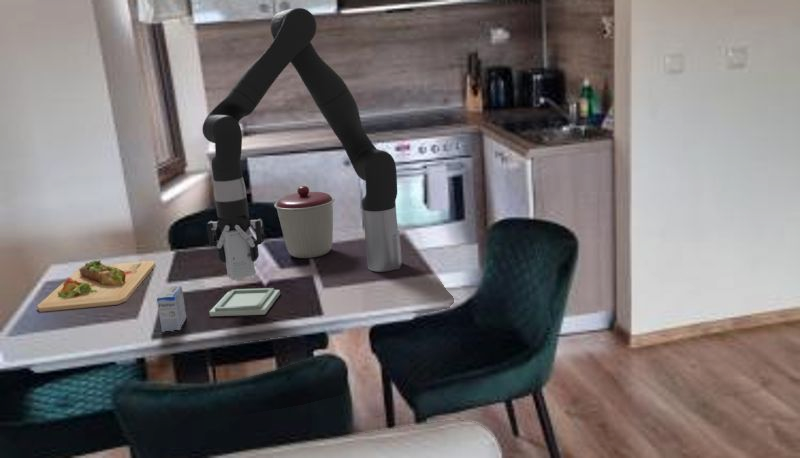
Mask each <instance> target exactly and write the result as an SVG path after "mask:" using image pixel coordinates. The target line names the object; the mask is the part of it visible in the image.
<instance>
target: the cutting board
mask: <svg viewBox="0 0 800 458" xmlns="http://www.w3.org/2000/svg"><path fill="white" fill-rule="evenodd" d="M155 267H156V262H155V261H153V260H147V261H145V260H144V261H134V262H125V263H124V262H123V263H115V264H107V265H106V264H102V262H101V260H100V259H99V260H95V259H94V260H92V261H90V262H89V263H88V262H86V263H84V265H83V266H81V267H80V268H78V269H77V270H76V271H75V272H74V273H72V274H71V275H70V276H68V277H67V278H66V279H65V281H63V282H62V283H60V285H59V286H58V287H57V288H55V289H54V290H53V291H52V292H50V294H49V295H48V296H46V297H45V298H44V299H43V300H41V302H39V303H38V304H37V305H36V307H37V310H38V312H40V313H41V312H54V311H61V310H63V311H64V310H72V309H73V310H75V309H86V308H95V307H104V306H105V307H106V306H115V305H119V304H122V303H125V302H127V301H128V300H129V299H130V297H131V296H132V295H133V294H134V293H135V291H136V290H137V289H138V288H139V286H140V285H141V284H142V283H143V282H144V281H145V279H146V278H147V277H148V276H149V274H151V272H152V271H153V270H154V269H155ZM152 269H153V270H152ZM147 275H148V276H147ZM142 281H143V282H142ZM137 287H138V288H137Z"/></svg>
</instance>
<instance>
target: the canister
mask: <svg viewBox="0 0 800 458" xmlns="http://www.w3.org/2000/svg"><path fill="white" fill-rule="evenodd" d="M335 200H336V199H335V197H334V196H333V195H330V194H329V193H326V192H322V191H321V192H320V191H310V188H309V187H308V186H307V185H301V186H298V188H297V192H296V193H293V194H289V195H286V196H284V197H281V198H279V199H278V201H276V202H275V203H273V204H274V205H273V207H274V208H275V209H276V210H277V216H278V218H279V219H278V220H279V222H280V227H281V231H282V236H283V240H284V243H285V246H286V249H287V252H288V254H289V255H290V256H292V257H294V258H298V259H314V258H318V257H321V256H322V257H323V256H324V255H326V254H329V252H330V251H331V249H332V247H333V237H334V236H333V234H334V227H333V226H334V202H335Z"/></svg>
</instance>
